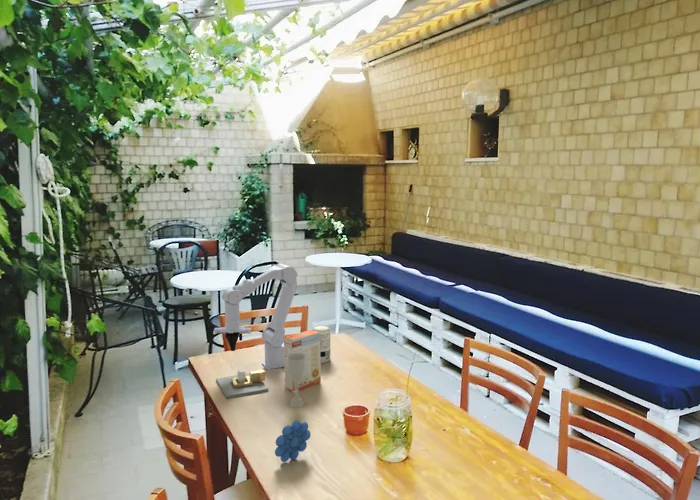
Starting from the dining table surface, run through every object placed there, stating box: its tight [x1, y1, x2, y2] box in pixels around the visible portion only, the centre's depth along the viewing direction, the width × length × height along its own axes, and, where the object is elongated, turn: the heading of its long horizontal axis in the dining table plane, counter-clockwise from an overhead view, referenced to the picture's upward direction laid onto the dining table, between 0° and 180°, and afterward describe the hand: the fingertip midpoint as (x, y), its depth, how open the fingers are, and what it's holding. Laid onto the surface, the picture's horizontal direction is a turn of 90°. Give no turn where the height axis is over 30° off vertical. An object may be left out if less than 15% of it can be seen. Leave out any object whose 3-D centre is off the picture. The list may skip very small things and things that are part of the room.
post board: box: [215, 369, 269, 399], centre depth 213 cm, size 16×18×6 cm
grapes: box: [274, 419, 311, 463], centre depth 160 cm, size 12×7×12 cm, turn 124°
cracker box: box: [283, 329, 322, 393], centre depth 213 cm, size 14×6×21 cm, turn 133°
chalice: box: [287, 353, 306, 408], centre depth 196 cm, size 7×7×18 cm
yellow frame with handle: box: [231, 369, 266, 387], centre depth 214 cm, size 12×7×4 cm, turn 112°
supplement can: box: [312, 325, 331, 364], centre depth 240 cm, size 8×8×15 cm
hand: (233, 350), depth 223 cm, fingers closed
